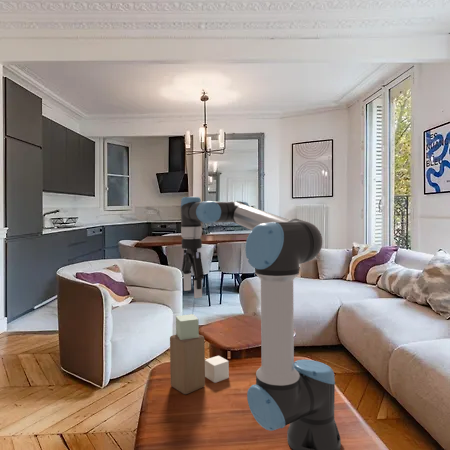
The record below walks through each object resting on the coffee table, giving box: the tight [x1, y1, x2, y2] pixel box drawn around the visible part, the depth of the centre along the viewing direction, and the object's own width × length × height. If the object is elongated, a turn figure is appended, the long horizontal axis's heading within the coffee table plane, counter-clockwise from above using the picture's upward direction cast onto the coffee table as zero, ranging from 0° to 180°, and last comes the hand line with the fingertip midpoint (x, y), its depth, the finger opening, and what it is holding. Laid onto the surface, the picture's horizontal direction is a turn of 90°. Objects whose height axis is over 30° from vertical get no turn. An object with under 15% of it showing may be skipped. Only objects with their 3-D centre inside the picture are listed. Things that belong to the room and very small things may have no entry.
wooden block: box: [169, 333, 206, 395], centre depth 138 cm, size 10×10×20 cm
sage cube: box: [175, 313, 200, 340], centre depth 138 cm, size 7×7×7 cm
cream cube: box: [205, 355, 230, 384], centre depth 146 cm, size 7×7×7 cm
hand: (192, 293), depth 136 cm, fingers open, 13 cm apart
